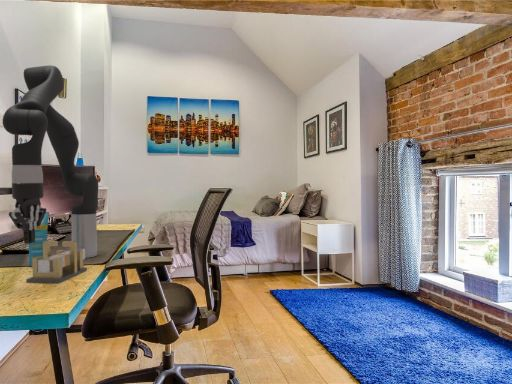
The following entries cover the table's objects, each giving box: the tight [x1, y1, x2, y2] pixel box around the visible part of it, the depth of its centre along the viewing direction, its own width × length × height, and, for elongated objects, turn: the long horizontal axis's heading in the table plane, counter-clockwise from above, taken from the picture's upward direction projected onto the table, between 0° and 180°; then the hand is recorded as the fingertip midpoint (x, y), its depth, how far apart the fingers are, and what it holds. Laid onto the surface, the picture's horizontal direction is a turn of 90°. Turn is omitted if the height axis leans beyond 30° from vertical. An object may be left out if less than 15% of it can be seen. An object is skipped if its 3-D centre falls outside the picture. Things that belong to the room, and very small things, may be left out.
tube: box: [28, 211, 50, 267], centre depth 135 cm, size 7×5×19 cm, turn 123°
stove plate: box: [25, 267, 88, 284], centre depth 120 cm, size 16×10×1 cm, turn 176°
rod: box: [38, 249, 86, 273], centre depth 123 cm, size 20×4×4 cm, turn 175°
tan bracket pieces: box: [31, 249, 84, 279], centre depth 121 cm, size 14×8×6 cm, turn 176°
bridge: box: [43, 240, 77, 273], centre depth 121 cm, size 2×10×10 cm, turn 85°
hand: (29, 243), depth 106 cm, fingers closed
